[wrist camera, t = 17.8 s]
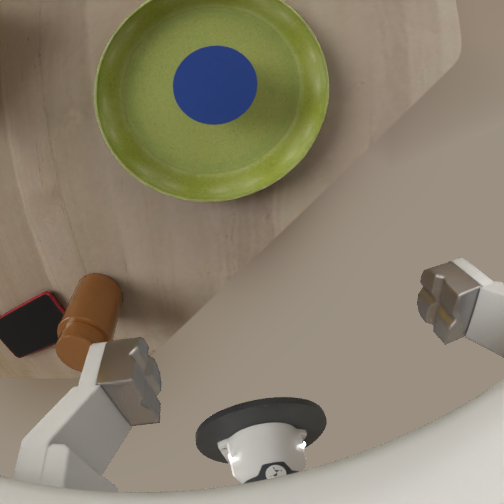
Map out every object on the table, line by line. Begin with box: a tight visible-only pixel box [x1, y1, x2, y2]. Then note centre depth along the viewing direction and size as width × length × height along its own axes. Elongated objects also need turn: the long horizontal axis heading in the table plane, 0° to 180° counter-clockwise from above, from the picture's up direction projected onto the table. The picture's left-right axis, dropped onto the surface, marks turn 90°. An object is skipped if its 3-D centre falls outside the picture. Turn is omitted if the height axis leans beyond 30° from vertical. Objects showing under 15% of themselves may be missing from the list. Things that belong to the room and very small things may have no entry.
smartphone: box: [0, 291, 65, 358], centre depth 34 cm, size 7×1×15 cm
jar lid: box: [173, 45, 257, 125], centre depth 22 cm, size 6×6×2 cm
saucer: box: [94, 0, 329, 202], centre depth 25 cm, size 21×21×3 cm
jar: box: [56, 273, 123, 372], centre depth 30 cm, size 6×6×10 cm
